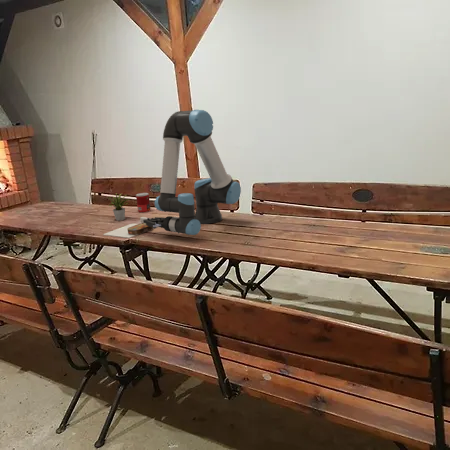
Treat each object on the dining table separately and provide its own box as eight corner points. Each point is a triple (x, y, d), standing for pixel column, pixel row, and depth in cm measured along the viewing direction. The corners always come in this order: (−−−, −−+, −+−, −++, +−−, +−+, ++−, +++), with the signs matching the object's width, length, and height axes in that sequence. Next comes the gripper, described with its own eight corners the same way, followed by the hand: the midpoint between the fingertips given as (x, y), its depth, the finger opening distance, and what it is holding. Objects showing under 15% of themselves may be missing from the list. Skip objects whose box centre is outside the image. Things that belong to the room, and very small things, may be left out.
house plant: (115, 224, 261) (111, 196, 257) (102, 221, 271) (98, 194, 266) (135, 218, 271) (132, 191, 267) (122, 215, 280) (118, 189, 276)
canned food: (150, 211, 285) (148, 194, 282) (137, 213, 284) (135, 195, 281) (151, 209, 292) (149, 192, 289) (138, 210, 292) (136, 193, 289)
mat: (157, 226, 248) (157, 226, 248) (129, 238, 230) (128, 237, 230) (132, 224, 258) (132, 223, 258) (103, 235, 241) (102, 234, 241)
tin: (134, 231, 232) (123, 228, 237) (135, 236, 233) (124, 233, 238) (156, 223, 243) (145, 220, 248) (156, 229, 244) (145, 226, 249)
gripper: (164, 235, 220) (132, 230, 235) (183, 228, 230) (151, 223, 245) (163, 220, 218) (130, 216, 233) (181, 213, 228) (149, 210, 243)
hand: (141, 219), depth 239 cm, fingers closed
